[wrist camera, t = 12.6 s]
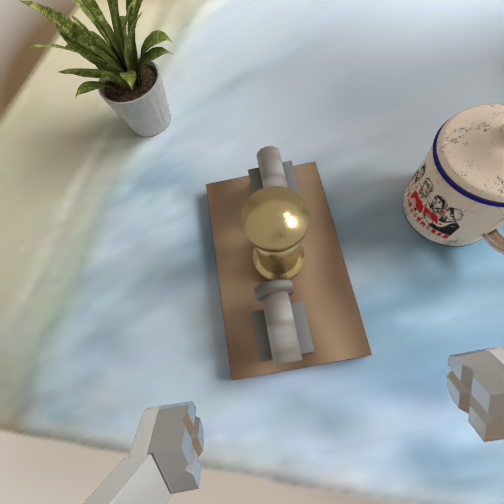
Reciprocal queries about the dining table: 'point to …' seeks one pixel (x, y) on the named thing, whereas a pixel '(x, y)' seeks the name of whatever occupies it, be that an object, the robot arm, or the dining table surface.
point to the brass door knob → (276, 231)
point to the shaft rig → (283, 281)
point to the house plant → (117, 63)
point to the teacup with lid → (462, 181)
